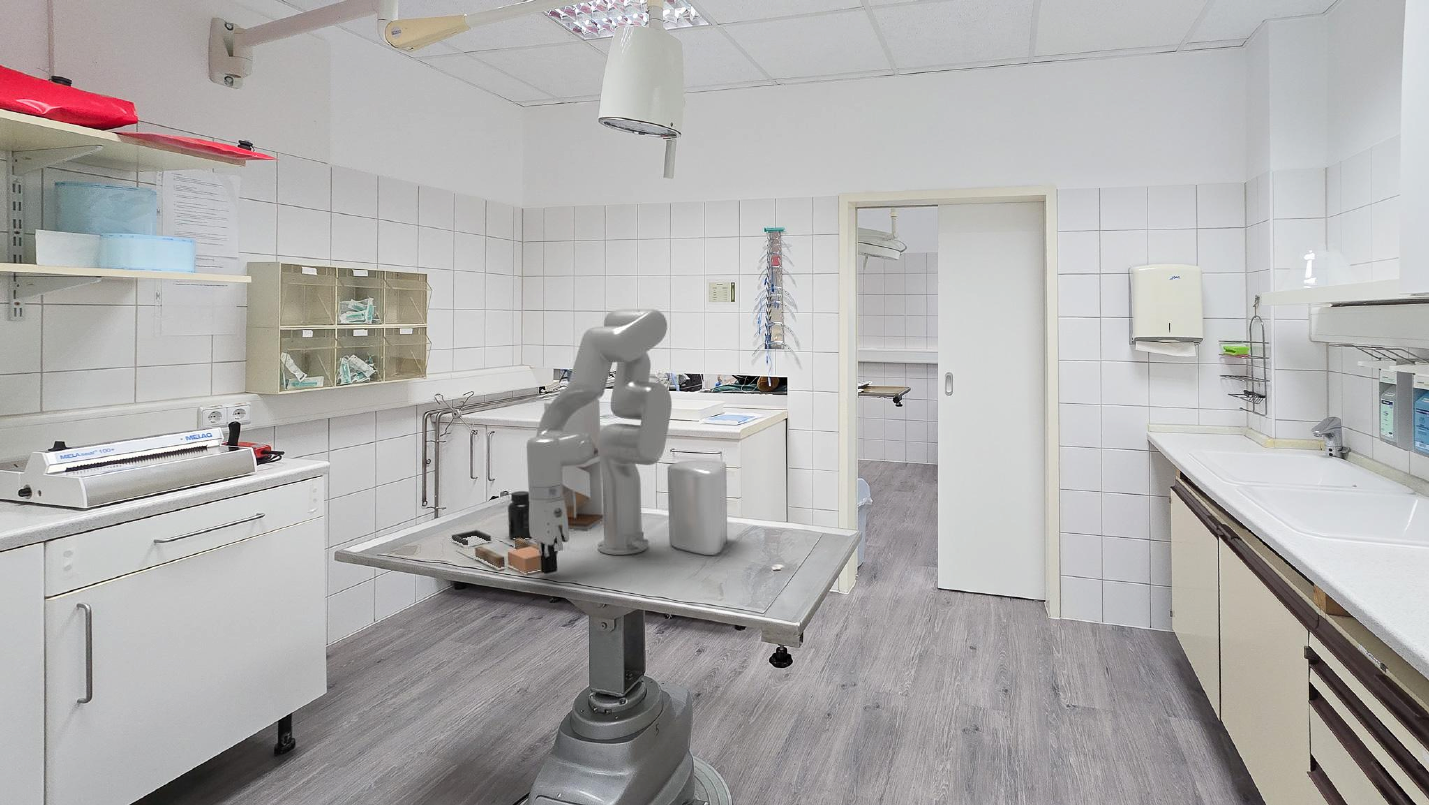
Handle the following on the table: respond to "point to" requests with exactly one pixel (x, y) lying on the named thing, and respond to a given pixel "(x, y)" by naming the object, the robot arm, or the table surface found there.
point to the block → (525, 559)
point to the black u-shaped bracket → (468, 534)
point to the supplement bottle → (519, 515)
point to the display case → (584, 473)
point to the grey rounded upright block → (697, 506)
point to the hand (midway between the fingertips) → (549, 571)
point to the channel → (498, 559)
